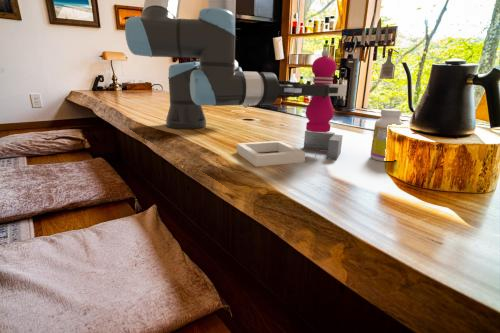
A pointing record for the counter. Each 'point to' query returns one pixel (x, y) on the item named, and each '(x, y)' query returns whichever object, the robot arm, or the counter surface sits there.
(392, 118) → the supplement bottle
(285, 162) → the socket
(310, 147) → the corner bracket
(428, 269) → the counter surface
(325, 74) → the pepper mill
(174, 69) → the robot arm
